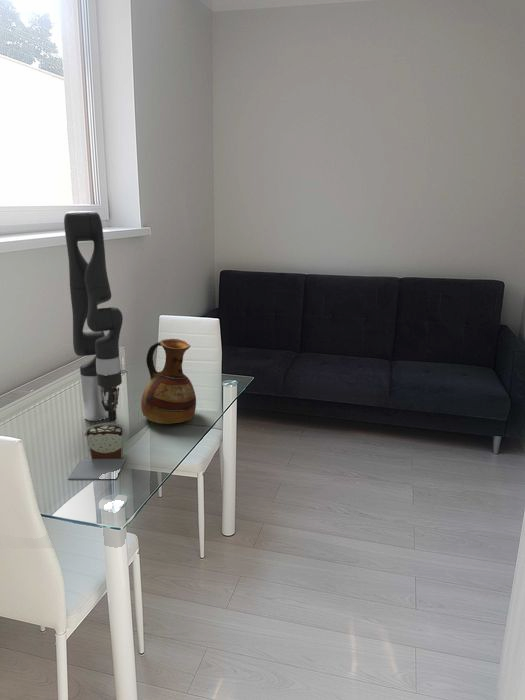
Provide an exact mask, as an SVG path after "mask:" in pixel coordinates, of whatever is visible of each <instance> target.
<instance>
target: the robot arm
mask: <svg viewBox="0 0 525 700" xmlns="http://www.w3.org/2000/svg"><path fill="white" fill-rule="evenodd" d="M101 219H102V218H101V216H100V214H99V212H97V211H92V210H90V211H89V210H88V211H87V210H86V211H85V210H84V211H81V210H80V211H67V212H66V213H65V214H64V218H63V226H64V227H63V228H64V234H65V241H66V249H67V254H68V255H67V257H68V270H69V271H68V272H69V273H68V274H69V276H68V277H69V290H70V301H71V311H72V345H73V352H74V354H75V355H77V356H78V357H85V356H94V357H93V358H92V359H90V360H88V361H86V362H83V363H82V364H81V365H80V367H79V373H80V382H81V393H82V394H81V395H82V405H83V406H82V407H83V415H84V416H85V417H84V419H85V420H86V421H90V422H96V421H97V420H99V421H101V420H100V419H104V418H106V419H108V421H109V422H116V421H117V418H118V417H117V408H118V407H117V406H118V405H119V396H120V395H119V394H120V387H118V386H120V385H121V384H122V382H123V378H122V368H121V367H122V366H121V365H122V363H121V358H120V347H119V343H120V335H121V330H122V326H123V321H124V316H123V313H122V312H121V310H120V309H119V308H118V307H115V306H111V307H100V308H99V307H98V305H100V304H104V303H107V302H109V301H110V300H111V299H112V292H111V291H112V290H111V286H110V282H109V281H110V280H109V276H108V272H107V264H106V263H107V262H106V261H107V260H106V250H105V248H106V247H105V240H104V229H103V224H102V220H101ZM78 242H93V249H92V250H93V251H92V254H91V256H90V259H89V262H88V261H87V260H86V258H85V257H84V256H83V254H82V253H81V251H80V249H79V243H78ZM85 323H86V325H87V327H88V329H84V326H85ZM106 331H107V332H108V331H109V332H108V333H107V334H106V335H105V332H106ZM107 417H108V418H107ZM104 420H105V419H104ZM97 422H98V421H97Z"/></svg>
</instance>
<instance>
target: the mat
mask: <svg viewBox="0 0 525 700" xmlns="http://www.w3.org/2000/svg"><path fill="white" fill-rule="evenodd" d="M125 462H126V459H122V460H92V459H79V461H77V463H76V465H75V467H74V468H73V469H72V472H71V473H70V474H69V476H68V478H69V479H76V480H80V481H82V480H83V481H84V480H85V481H90V480H93V481H96V480H95V479H99V477H100V476H101V475H102V474H106V473H108V472H114V471H117V470H119V469H121V468H122V469H123V467H124V465H125ZM123 464H124V465H123ZM122 466H123V467H122ZM122 469H121V470H122ZM76 480H75V481H76Z"/></svg>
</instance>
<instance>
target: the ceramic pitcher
mask: <svg viewBox="0 0 525 700" xmlns="http://www.w3.org/2000/svg"><path fill="white" fill-rule="evenodd" d="M158 347H162V348H163V350H164V353H165V363H164V367H163V368H162V370H161V371H158V370H156V368H155V363H154V354H155V351H156V349H157V348H158ZM190 348H191V345H190V343H187V341H185V340H183V339H179V338H165V339H161V340H160V341H157V342H155V343H153V344H152V345H151V346H150V347H149V349H148V351H147V354H146V359H145V361H146V367H147V369H148V372H149V376H150V380H149V381H148V383H147V384H146V386H145V388H144V390H143V392H142V396H141V400H140V401H141V402H140V408H141V413H142V415H143V416H144V417H145V418H146V419H147V420H149V421H150V422H152V423H157V424H166V425H167V424H177V423H183V422H188V421H190V420H191V419H192V418H193V417H194V415H195V413H196V408H197V407H196V406H197V396H196V393H195V388H194V385H193V384H192V381H191V380H190V378H189V377H188V376H187V375H185V373H184V372H183V371H184V370H183V360H184V355H185V352H186V351H188V350H189V349H190Z"/></svg>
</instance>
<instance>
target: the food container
mask: <svg viewBox="0 0 525 700" xmlns="http://www.w3.org/2000/svg"><path fill="white" fill-rule="evenodd" d="M84 437H86V439H87V445H88V450H89V454H90V458H91V459H90V460H123V453H124V452H123V448H124V447H123V446H124V438H125V437H126V431H125V429H124V428H123V426H122V425H121V424H118V423H115V422H102V423H97V424H94V425H92V426H90V427H88V428H87V429H85V432H84Z"/></svg>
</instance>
